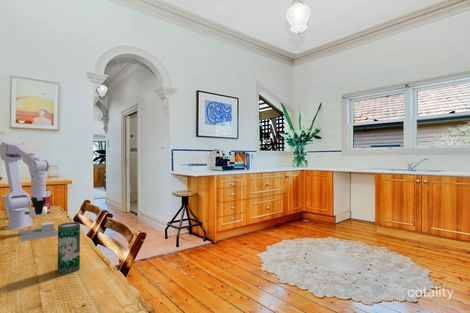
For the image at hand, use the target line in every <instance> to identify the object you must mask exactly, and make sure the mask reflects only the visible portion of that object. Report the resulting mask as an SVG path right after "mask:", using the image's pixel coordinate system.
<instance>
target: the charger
mask: <svg viewBox="0 0 470 313" xmlns="http://www.w3.org/2000/svg"><path fill="white" fill-rule="evenodd" d="M40 228H41V231H48V230H54V228H55V222H54V221H47V222H41V223H40Z"/></svg>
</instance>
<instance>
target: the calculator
mask: <svg viewBox="0 0 470 313" xmlns="http://www.w3.org/2000/svg"><path fill="white" fill-rule="evenodd" d="M46 194H49V195H46V196H44V197H45V199H46V202H45V204H44V206H43V207H47V210H51V190H50V189H46ZM32 198H35V197H31V199H32ZM33 207H34V206H33V205H32V208H33ZM50 213H51V211H50V212H47V215H48V214H50Z"/></svg>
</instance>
